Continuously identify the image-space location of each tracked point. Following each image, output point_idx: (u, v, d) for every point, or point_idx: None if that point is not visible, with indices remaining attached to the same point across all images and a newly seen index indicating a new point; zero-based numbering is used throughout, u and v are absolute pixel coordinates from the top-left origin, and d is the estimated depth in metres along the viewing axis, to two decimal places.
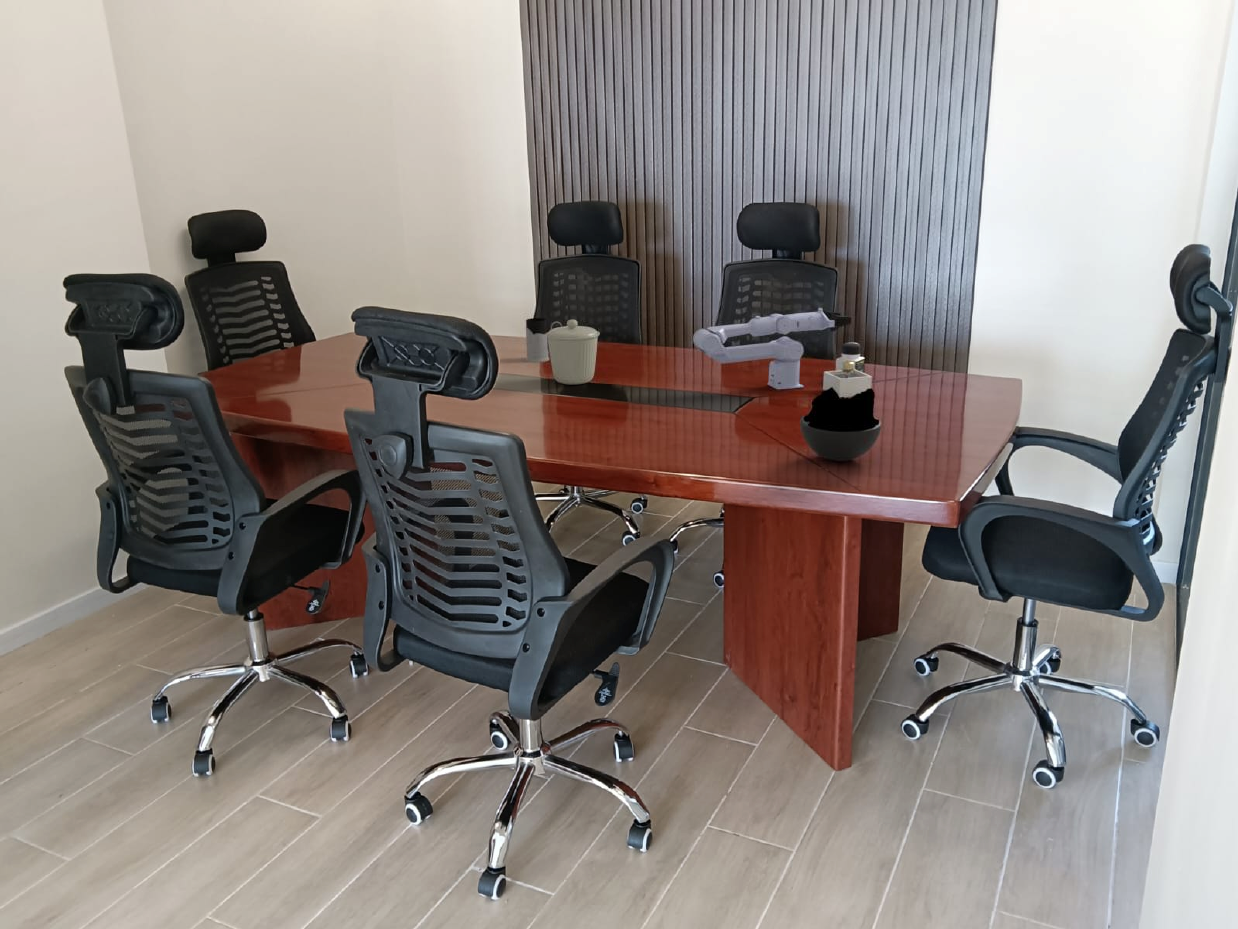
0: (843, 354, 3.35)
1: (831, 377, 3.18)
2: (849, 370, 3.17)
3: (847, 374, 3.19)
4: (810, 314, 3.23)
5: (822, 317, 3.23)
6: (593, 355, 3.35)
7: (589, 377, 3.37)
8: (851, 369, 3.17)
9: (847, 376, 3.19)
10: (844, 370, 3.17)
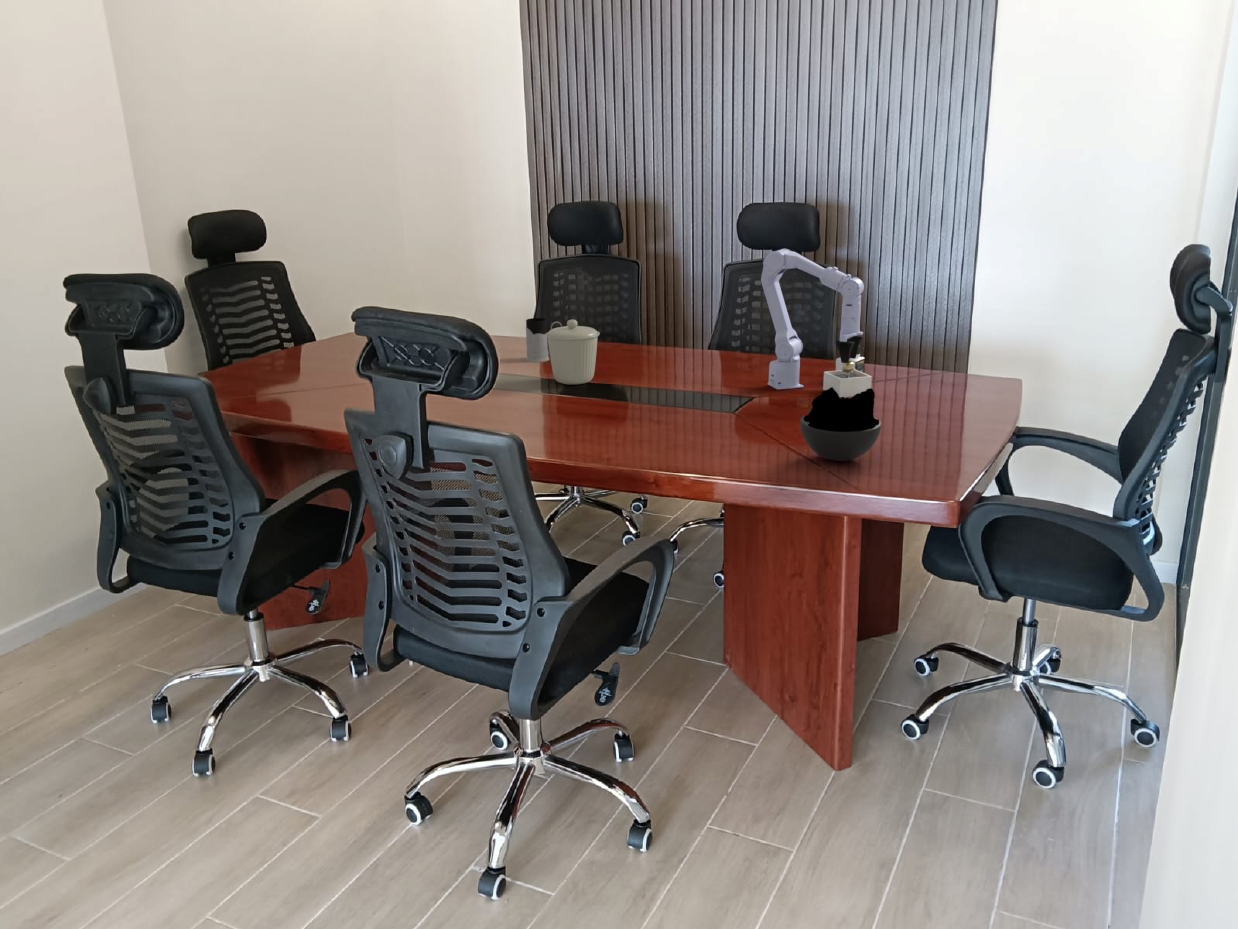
0: None
1: (831, 377, 3.18)
2: (849, 370, 3.17)
3: (847, 374, 3.19)
4: (857, 320, 3.11)
5: (852, 332, 3.12)
6: (593, 355, 3.35)
7: (589, 377, 3.37)
8: (851, 369, 3.17)
9: (847, 376, 3.19)
10: (844, 370, 3.17)
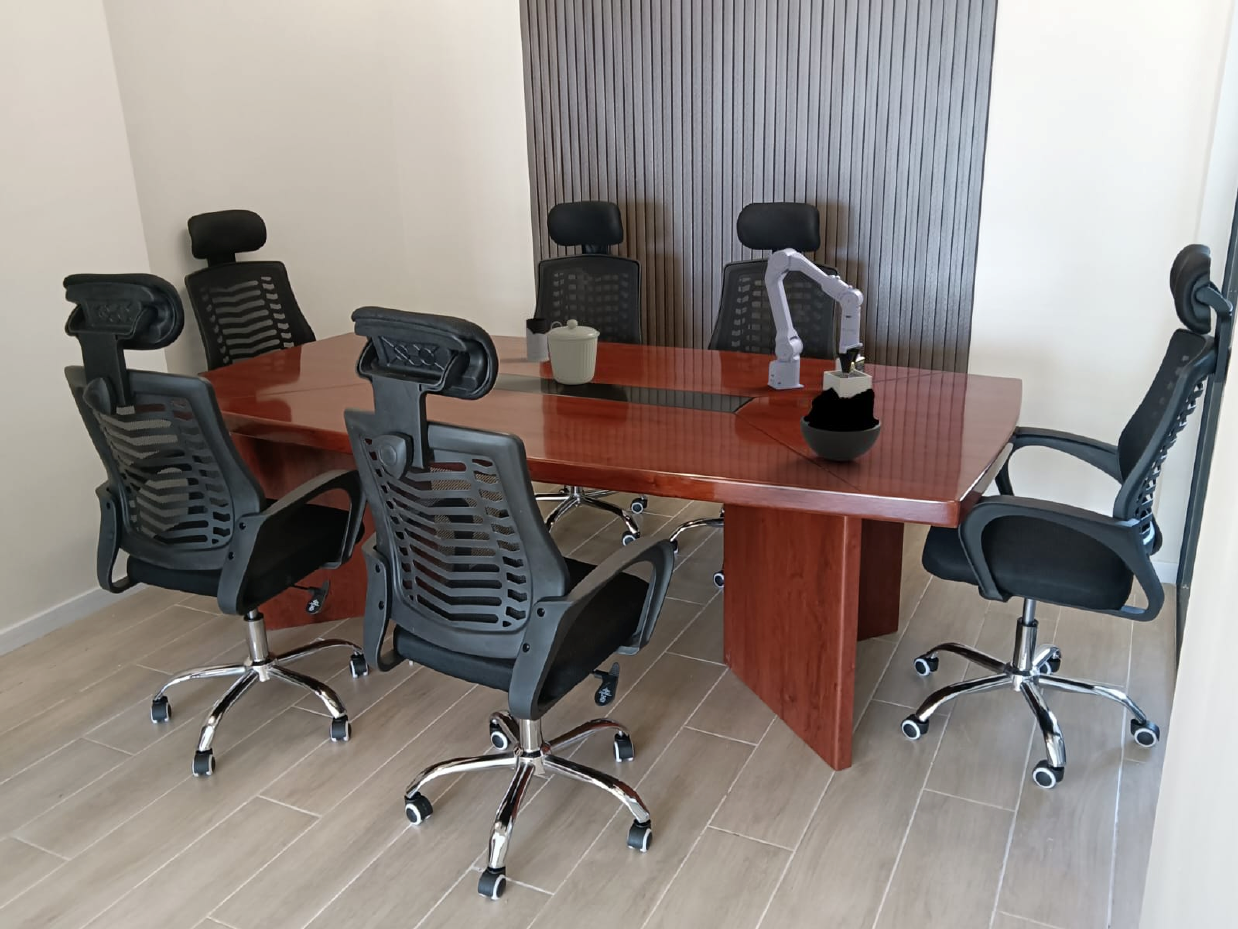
0: None
1: (831, 377, 3.18)
2: None
3: (847, 374, 3.19)
4: (856, 332, 3.13)
5: (851, 344, 3.13)
6: (593, 355, 3.35)
7: (589, 377, 3.37)
8: (851, 369, 3.17)
9: (847, 376, 3.19)
10: None
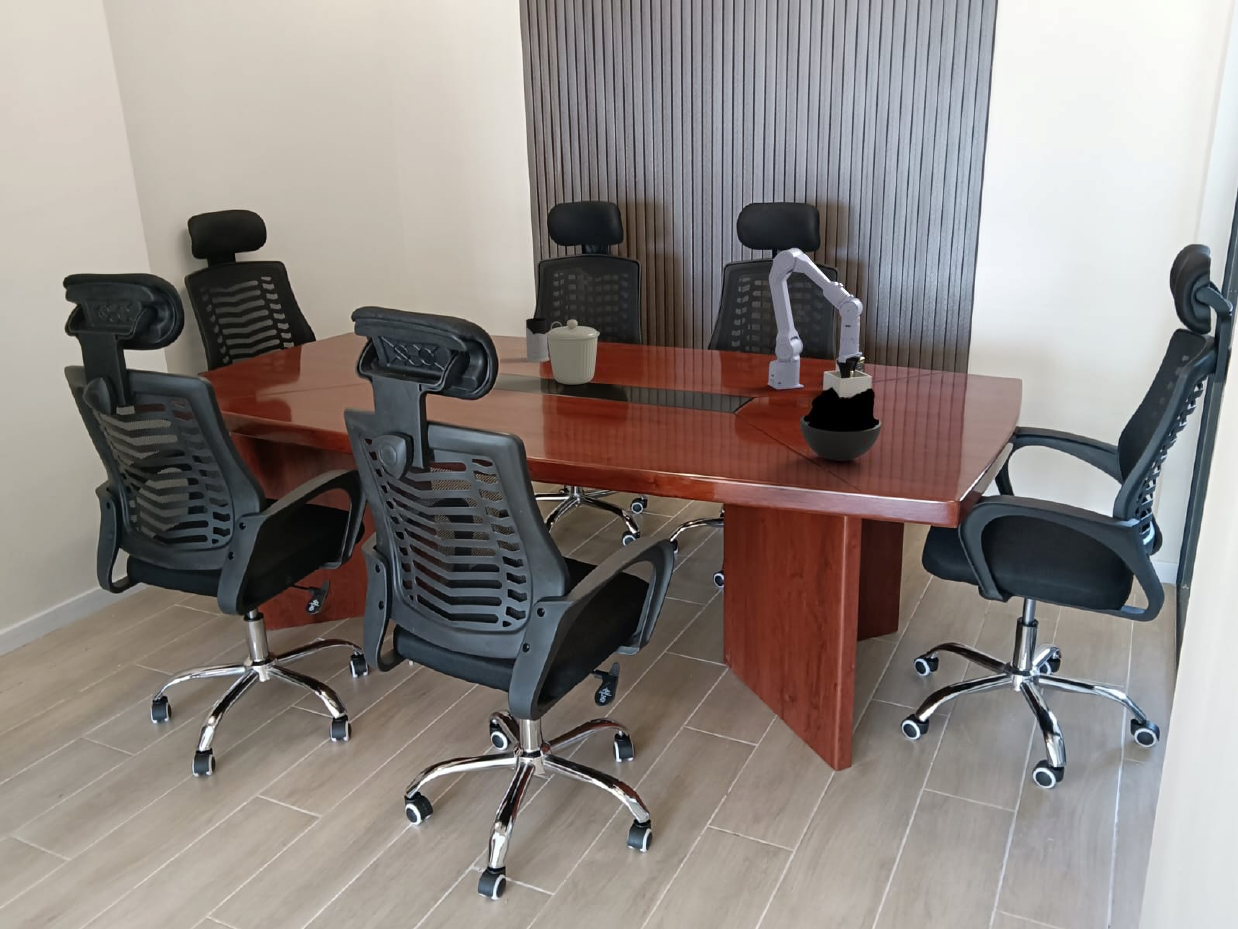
0: None
1: (831, 377, 3.18)
2: None
3: None
4: (856, 341, 3.13)
5: (850, 353, 3.14)
6: (593, 355, 3.35)
7: (589, 377, 3.37)
8: None
9: None
10: None
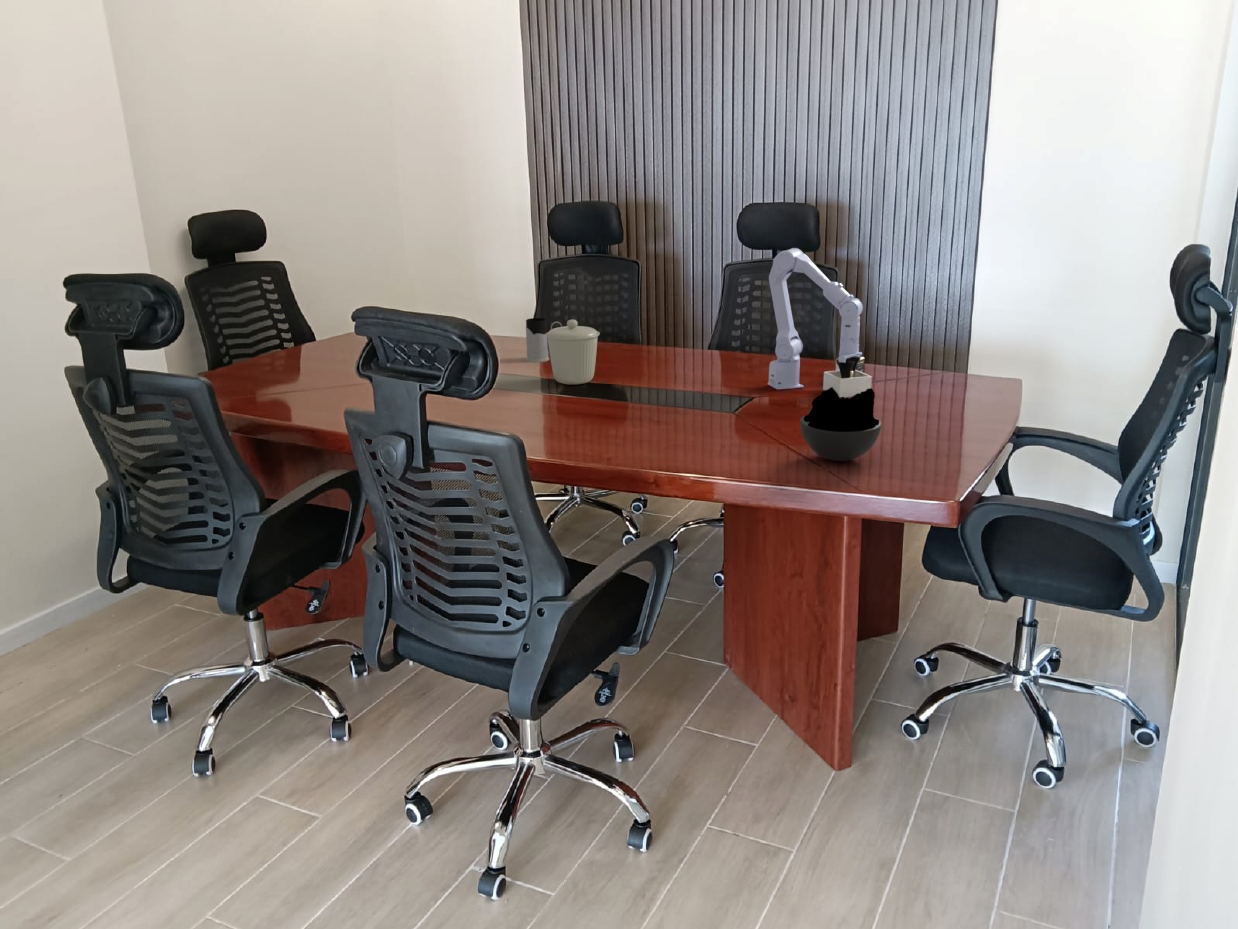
0: None
1: (831, 377, 3.18)
2: None
3: None
4: (856, 341, 3.13)
5: (850, 353, 3.14)
6: (593, 355, 3.35)
7: (589, 377, 3.37)
8: None
9: None
10: None
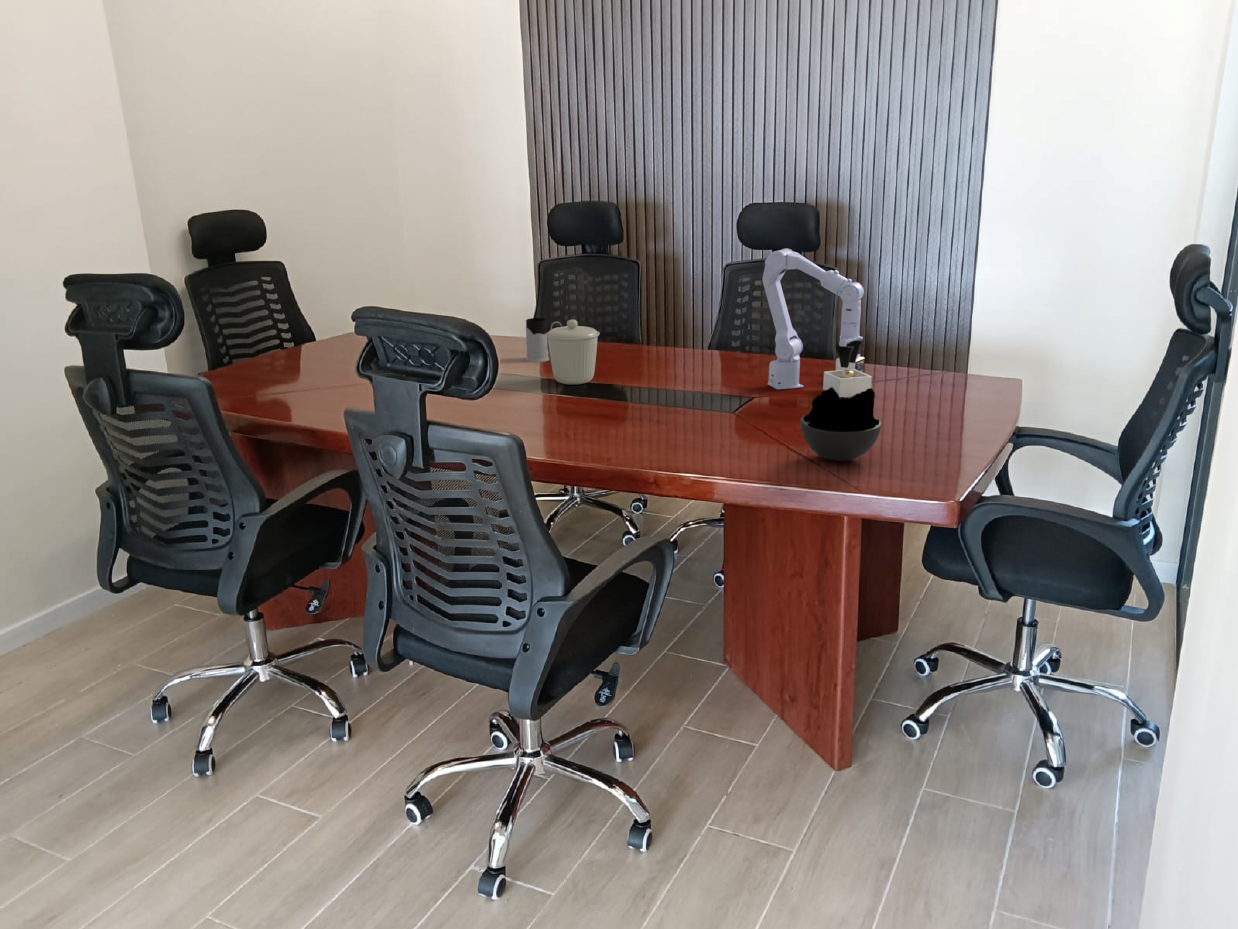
0: None
1: (831, 377, 3.18)
2: None
3: None
4: (856, 325, 3.12)
5: (851, 337, 3.12)
6: (593, 355, 3.35)
7: (589, 377, 3.37)
8: None
9: None
10: None
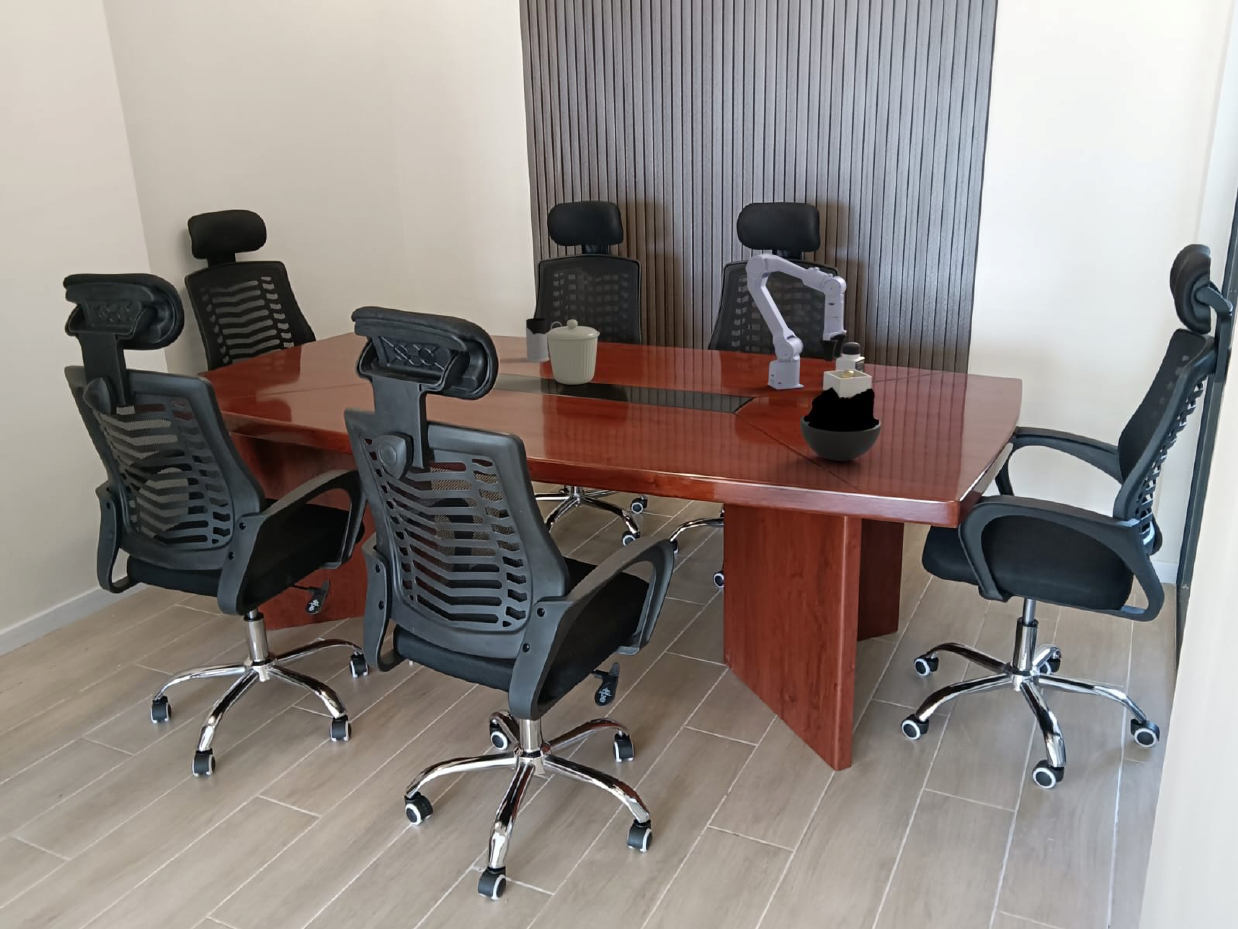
0: (843, 354, 3.35)
1: (831, 377, 3.18)
2: None
3: None
4: (840, 319, 3.14)
5: (835, 331, 3.15)
6: (593, 355, 3.35)
7: (589, 377, 3.37)
8: None
9: None
10: None
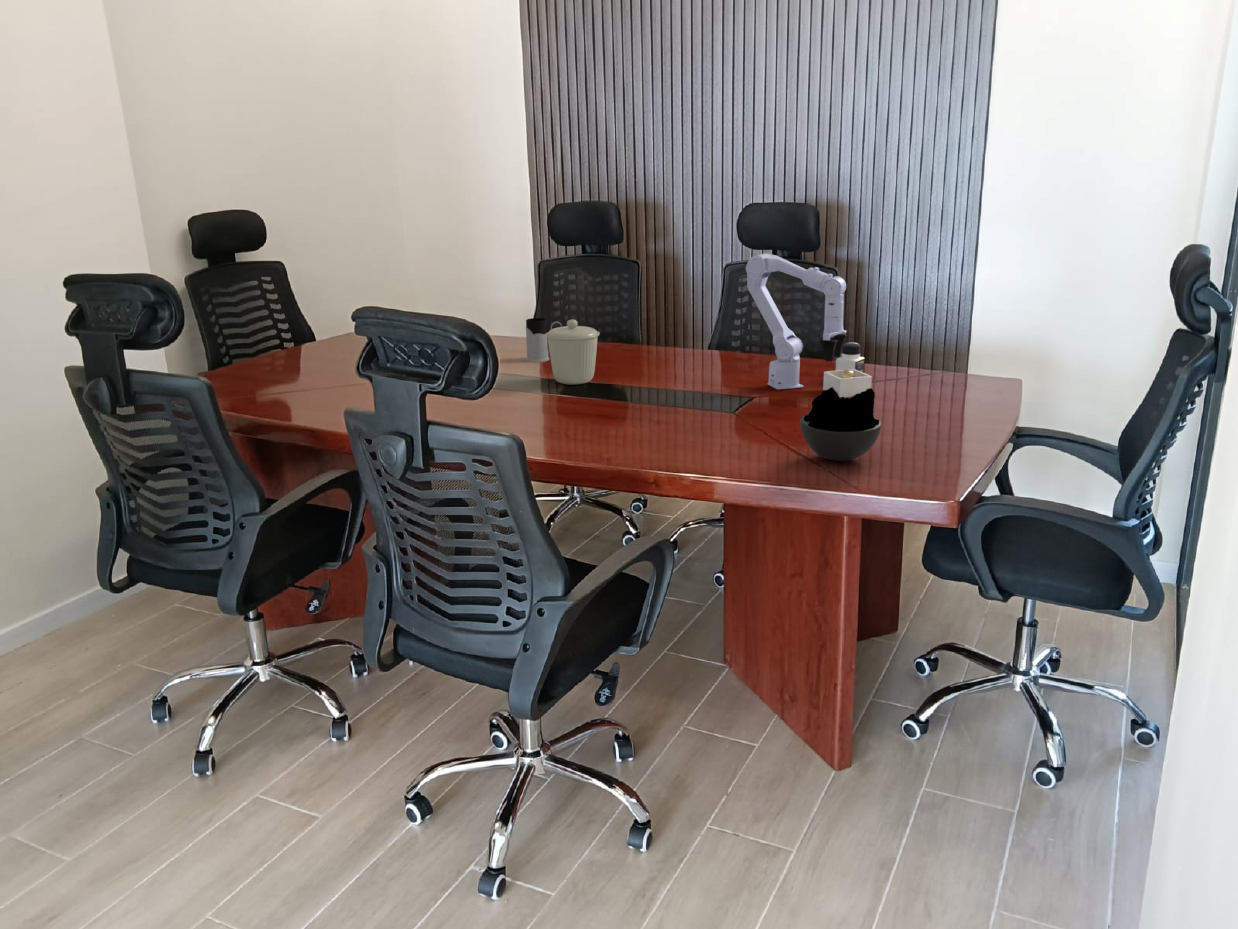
0: (843, 354, 3.35)
1: (831, 377, 3.18)
2: None
3: None
4: (840, 319, 3.14)
5: (835, 331, 3.15)
6: (593, 355, 3.35)
7: (589, 377, 3.37)
8: None
9: None
10: None
